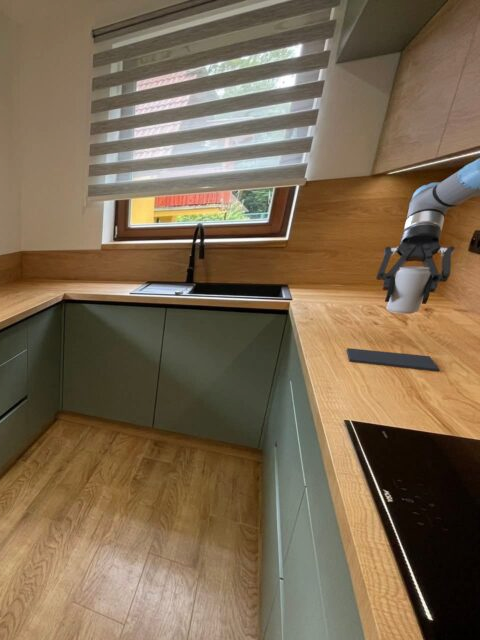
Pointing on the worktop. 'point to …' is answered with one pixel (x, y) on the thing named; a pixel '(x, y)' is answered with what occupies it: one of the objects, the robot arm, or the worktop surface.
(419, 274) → the beverage can
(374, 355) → the mat
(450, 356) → the worktop surface
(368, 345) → the worktop surface
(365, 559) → the worktop surface
